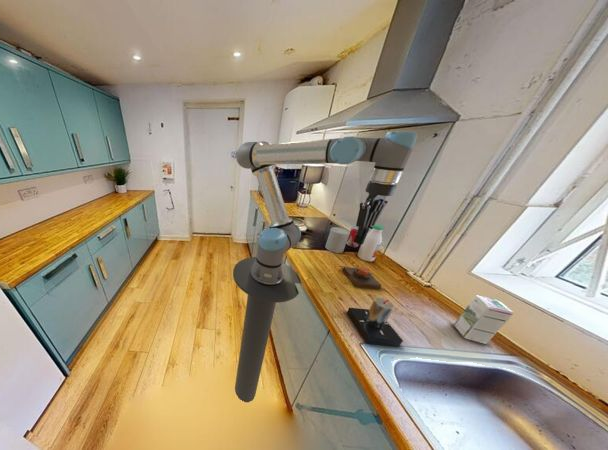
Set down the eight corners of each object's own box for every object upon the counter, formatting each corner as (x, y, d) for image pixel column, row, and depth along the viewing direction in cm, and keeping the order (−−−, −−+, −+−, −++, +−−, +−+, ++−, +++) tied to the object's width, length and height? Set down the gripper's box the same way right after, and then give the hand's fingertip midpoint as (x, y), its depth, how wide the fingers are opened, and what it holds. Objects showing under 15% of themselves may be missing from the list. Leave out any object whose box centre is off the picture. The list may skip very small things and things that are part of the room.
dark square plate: (342, 270, 99) (344, 263, 98) (363, 272, 98) (366, 265, 97) (355, 287, 88) (358, 279, 87) (379, 289, 88) (383, 282, 86)
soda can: (358, 245, 123) (365, 228, 118) (356, 249, 119) (363, 231, 114) (346, 241, 127) (353, 225, 122) (344, 245, 123) (350, 227, 118)
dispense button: (355, 270, 94) (356, 266, 93) (364, 270, 94) (365, 267, 93) (360, 275, 90) (362, 271, 89) (369, 276, 90) (371, 272, 89)
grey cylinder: (333, 243, 124) (339, 226, 119) (347, 251, 116) (354, 233, 111) (321, 245, 121) (327, 228, 116) (334, 254, 113) (341, 235, 108)
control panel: (346, 313, 75) (349, 307, 74) (374, 316, 74) (377, 309, 73) (366, 343, 64) (369, 336, 63) (399, 346, 63) (403, 340, 62)
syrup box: (487, 344, 65) (517, 313, 59) (462, 338, 67) (489, 306, 61) (474, 330, 69) (500, 299, 63) (451, 324, 71) (475, 294, 65)
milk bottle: (365, 262, 106) (379, 229, 98) (353, 254, 113) (365, 222, 105) (377, 261, 107) (392, 228, 99) (365, 253, 114) (378, 222, 106)
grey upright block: (377, 331, 65) (389, 310, 61) (361, 319, 69) (371, 299, 65) (386, 325, 67) (398, 305, 63) (370, 314, 71) (380, 295, 67)
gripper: (380, 178, 72) (358, 235, 82) (359, 181, 67) (337, 241, 77) (406, 183, 66) (378, 244, 76) (384, 186, 61) (358, 251, 70)
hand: (358, 242), depth 76 cm, fingers closed
